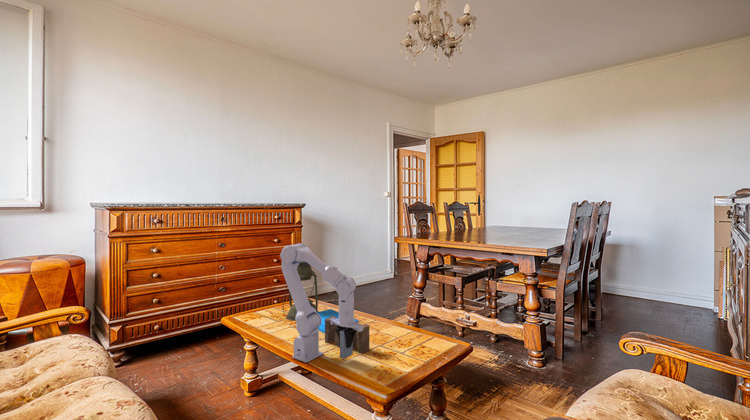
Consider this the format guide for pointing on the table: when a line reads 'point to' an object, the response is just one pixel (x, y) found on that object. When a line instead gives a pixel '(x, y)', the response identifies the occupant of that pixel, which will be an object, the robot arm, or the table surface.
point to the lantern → (305, 274)
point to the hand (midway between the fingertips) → (346, 346)
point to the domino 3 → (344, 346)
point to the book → (327, 314)
